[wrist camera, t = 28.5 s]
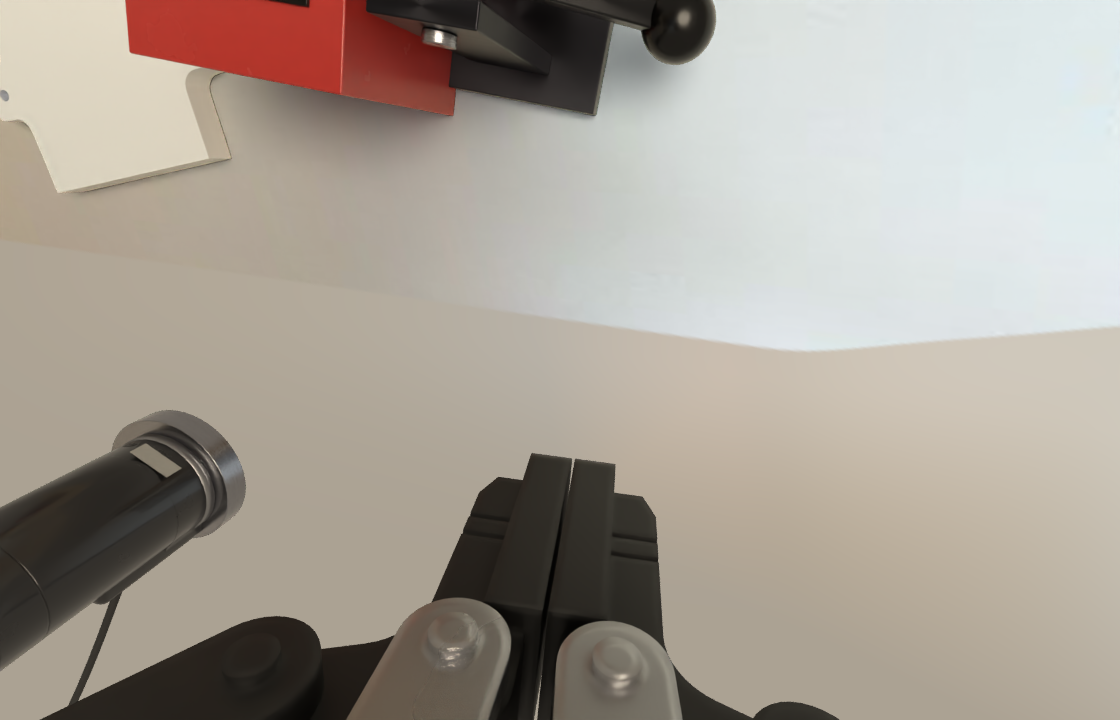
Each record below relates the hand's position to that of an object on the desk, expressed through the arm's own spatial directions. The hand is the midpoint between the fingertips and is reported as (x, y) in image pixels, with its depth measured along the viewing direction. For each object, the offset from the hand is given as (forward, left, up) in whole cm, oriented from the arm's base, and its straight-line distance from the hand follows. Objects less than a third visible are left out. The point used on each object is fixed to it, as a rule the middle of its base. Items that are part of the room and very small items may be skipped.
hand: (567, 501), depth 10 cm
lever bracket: (+11, +10, -26) cm, 30 cm away
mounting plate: (+4, +37, -26) cm, 46 cm away
